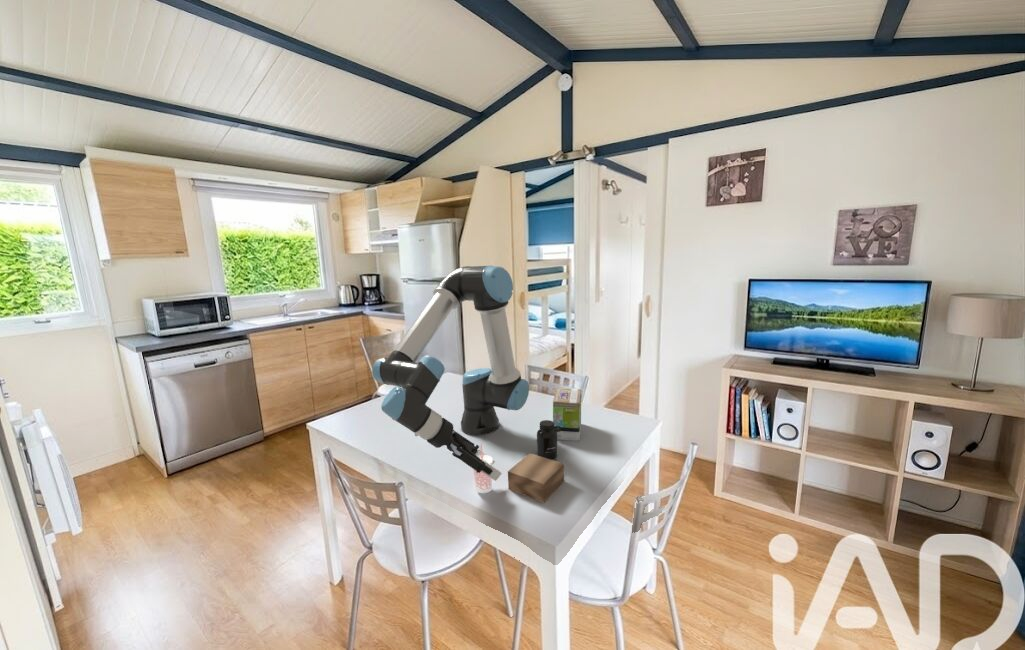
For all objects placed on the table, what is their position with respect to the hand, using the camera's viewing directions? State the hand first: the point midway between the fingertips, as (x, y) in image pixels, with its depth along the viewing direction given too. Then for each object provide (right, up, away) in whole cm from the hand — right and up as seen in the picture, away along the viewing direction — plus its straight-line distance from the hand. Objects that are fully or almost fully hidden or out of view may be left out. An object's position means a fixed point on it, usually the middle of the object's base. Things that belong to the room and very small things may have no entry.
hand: (494, 470), depth 115 cm
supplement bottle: (+17, -2, +17) cm, 24 cm away
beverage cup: (-3, -5, 0) cm, 6 cm away
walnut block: (+12, -5, +2) cm, 13 cm away
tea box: (+26, +2, +35) cm, 44 cm away
